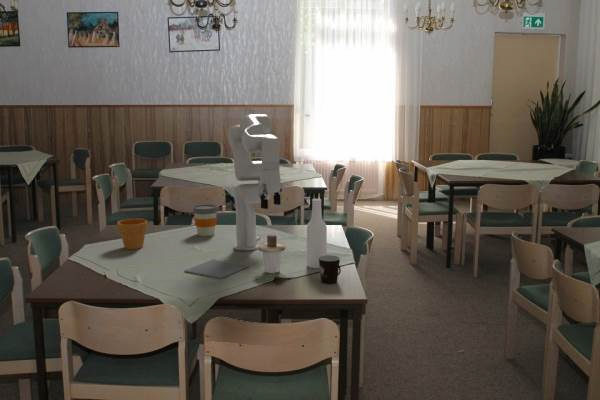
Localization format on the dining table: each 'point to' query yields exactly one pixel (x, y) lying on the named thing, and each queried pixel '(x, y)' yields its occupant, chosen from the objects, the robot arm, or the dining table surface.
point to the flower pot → (132, 232)
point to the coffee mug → (329, 268)
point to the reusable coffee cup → (205, 219)
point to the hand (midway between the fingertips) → (270, 206)
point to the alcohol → (316, 236)
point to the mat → (217, 269)
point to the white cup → (272, 261)
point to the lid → (272, 245)
